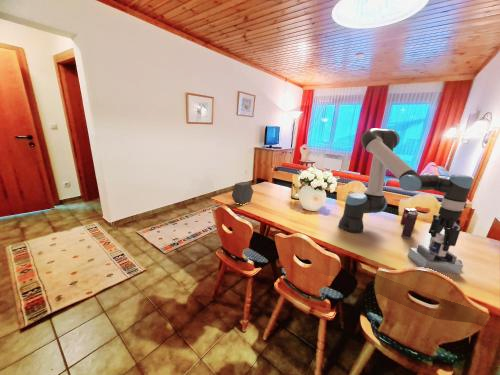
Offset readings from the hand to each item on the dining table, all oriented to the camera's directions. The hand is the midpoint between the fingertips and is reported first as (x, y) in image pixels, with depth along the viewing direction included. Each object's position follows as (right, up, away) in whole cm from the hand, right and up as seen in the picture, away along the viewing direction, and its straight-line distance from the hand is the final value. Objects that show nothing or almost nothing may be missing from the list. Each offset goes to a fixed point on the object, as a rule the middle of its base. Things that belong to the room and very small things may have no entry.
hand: (436, 252), depth 101 cm
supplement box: (+9, +1, +31) cm, 32 cm away
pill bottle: (0, -1, 0) cm, 1 cm away
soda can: (+21, +5, +47) cm, 52 cm away
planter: (-98, +18, +72) cm, 123 cm away
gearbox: (+2, -7, +2) cm, 7 cm away
